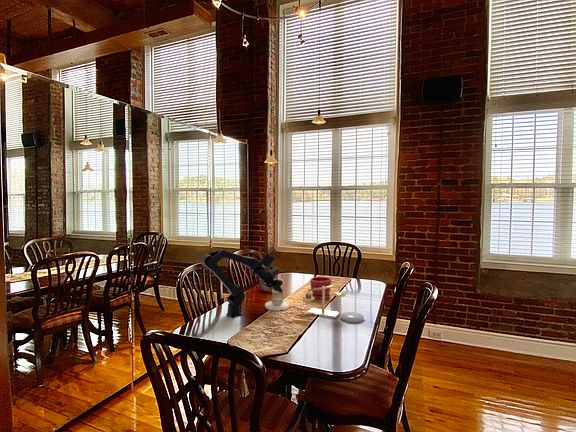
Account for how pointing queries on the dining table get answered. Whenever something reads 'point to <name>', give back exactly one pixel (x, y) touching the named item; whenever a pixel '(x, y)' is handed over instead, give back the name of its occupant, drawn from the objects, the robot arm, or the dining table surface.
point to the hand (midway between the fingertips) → (279, 290)
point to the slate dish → (352, 317)
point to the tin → (266, 288)
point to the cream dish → (277, 306)
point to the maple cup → (277, 295)
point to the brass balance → (323, 302)
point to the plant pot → (318, 283)
